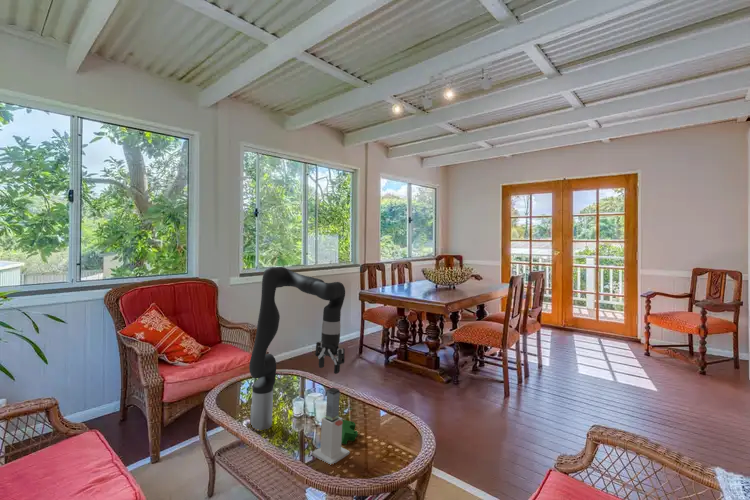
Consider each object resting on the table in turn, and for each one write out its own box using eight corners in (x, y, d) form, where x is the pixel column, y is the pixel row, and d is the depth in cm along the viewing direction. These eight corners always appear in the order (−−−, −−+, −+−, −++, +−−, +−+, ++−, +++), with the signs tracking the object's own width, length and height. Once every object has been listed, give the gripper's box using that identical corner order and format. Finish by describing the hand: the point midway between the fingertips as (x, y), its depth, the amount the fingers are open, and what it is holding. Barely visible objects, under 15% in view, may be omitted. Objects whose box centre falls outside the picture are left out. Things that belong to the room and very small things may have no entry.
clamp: (351, 452, 161) (358, 438, 157) (338, 450, 159) (345, 436, 156) (351, 428, 172) (357, 415, 168) (339, 426, 170) (345, 412, 167)
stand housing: (311, 454, 150) (313, 418, 150) (330, 443, 159) (332, 409, 158) (330, 466, 144) (332, 428, 143) (349, 453, 152) (351, 418, 152)
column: (324, 437, 151) (326, 389, 150) (331, 433, 154) (333, 387, 153) (331, 440, 148) (333, 392, 148) (337, 437, 151) (340, 389, 151)
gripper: (312, 329, 151) (310, 368, 151) (337, 336, 142) (335, 377, 143) (325, 326, 157) (323, 363, 157) (350, 333, 148) (348, 372, 149)
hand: (328, 370), depth 150 cm, fingers open, 8 cm apart
